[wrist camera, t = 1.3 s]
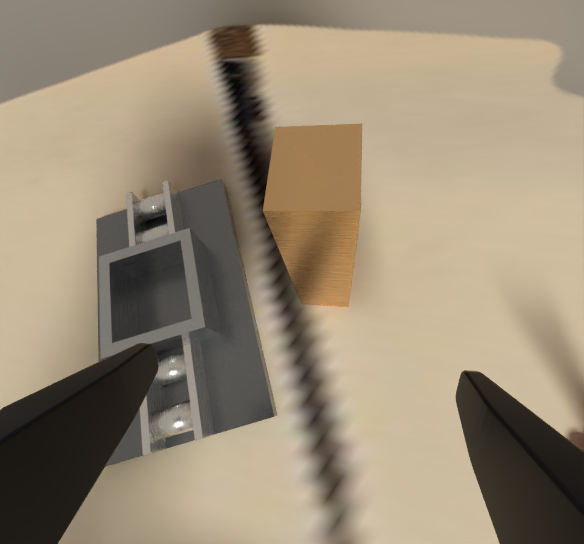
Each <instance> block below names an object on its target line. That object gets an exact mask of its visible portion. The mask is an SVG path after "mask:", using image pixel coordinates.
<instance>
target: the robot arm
mask: <svg viewBox="0 0 584 544" xmlns="http://www.w3.org/2000/svg"><path fill="white" fill-rule="evenodd" d="M158 368H159V365H158V360H157V357H156V353H155V349H154V347H153V345H151V344H146V343H138V344H136V345H134V346H132V347H130V348H127V349H125V350H123V351H121V352H119V353H117V354H115V355H113V356H111V357H109V358H106V359H104V360H102V361H100V362H98V363H96V364H94V365H92V366H90V367H87V368H85V369H83V370H81V371H79V372H77V373H75V374H73V375H71V376H69V377H66V378H64V379H62V380H60V381H58V382H56V383H54V384H52V385H50V386H48V387H45V388H43V389H41V390H39V391H37V392H35V393H33V394H31V395H29V396H26V397H24V398H22V399H20V400H18V401H16V402H14V403H12V404H10V405H8V406H5V407H3V408H2V409H1V410H0V544H58V542H59V541H60V539H61V537H62V536H63V534H64V533H65V531H66V529H67V528H68V526H69V524H70V523H71V521H72V520H73V518H74V516H75V515H76V513H77V511H78V510H79V508H80V507H81V505H82V503H83V502H84V500H85V498H86V497H87V495H88V494H89V492H90V490H91V489H92V487H93V485H94V484H95V482H96V480H97V479H98V477H99V476H100V474H101V472H102V471H103V469H104V467H105V466H106V464H107V463H108V461H109V459H110V458H111V456H112V454H113V453H114V451H115V450H116V448H117V446H118V445H119V443H120V441H121V440H122V438H123V437H124V435H125V433H126V432H127V430H128V428H129V427H130V425H131V423H132V422H133V420H134V418H135V416H136V415H137V413H138V411H139V409H140V407H141V405H142V403H143V401H144V399H145V397H146V395H147V393H148V391H149V389H150V387H151V384H152V382H153V380H154V378H155V376H156V374H157V372H158ZM456 403H457V408H458V412H459V416H460V420H461V424H462V428H463V433H464V437H465V441H466V445H467V449H468V453H469V457H470V461H471V464H472V467H473V470H474V473H475V475H476V478H477V481H478V484H479V487H480V489H481V492H482V495H483V498H484V501H485V503H486V506H487V509H488V512H489V515H490V517H491V520H492V523H493V526H494V529H495V531H496V534H497V537H498V540H499V543H500V544H584V452H583V451H582V450H581V449H579V448H578V447H577V446H576V445H574V444H573V443H572V442H570V441H569V440H568V439H567V438H565V437H564V436H563V435H561V434H560V433H559V432H557V431H556V430H555V429H554V428H552V427H551V426H550V425H548V424H547V423H546V422H545V421H543V420H542V419H541V418H539V417H538V416H537V415H535V414H534V413H533V412H532V411H530V410H529V409H528V408H526V407H525V406H524V405H523V404H521V403H520V402H519V401H517V400H516V399H515V398H513V397H512V396H511V395H510V394H508V393H507V392H506V391H504V390H503V389H502V388H501V387H499V386H498V385H497V384H495V383H494V382H493V381H491V380H490V379H489V378H488V377H486V376H485V375H484V374H482V373H481V372H478V371H467V370H465V371H463V372H462V373H461V375H460V379H459V383H458V387H457V391H456Z"/></svg>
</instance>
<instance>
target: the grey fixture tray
mask: <svg viewBox="0 0 584 544" xmlns="http://www.w3.org/2000/svg"><path fill="white" fill-rule="evenodd" d="M163 190H164V192H163V193H160V194H157V195H154V196H151V197H147V198H144V199H141V200H139V199H138V198H137V197H136V196H135V195H134V194H133V193H132V192H130V193H127V194H126V202H127V210H124V211H120V212H117V213H114V214H111V215H108V216H105V217H102V218H99V219H97V281H98V345H99V362H100V361H102V360H104V359H106V358H109V357H111V356H113V355H115V354H117V353H119V352H121V351H123V350H125V349H127V348H130V347H132V346H134V345H136V344H138V343H146V344H151V345H153V347H154V349H155V353H156V357H157V360H158V365H159V368H158V372H157V374H156V376H155V378H154V380H153V382H152V384H151V387H150V389H149V391H148V393H147V395H146V397H145V399H144V401H143V403H142V405H141V407H140V409H139V411H138V413H137V415H136V416H135V418H134V420H133V422H132V423H131V425H130V427H129V428H128V430H127V432H126V433H125V435H124V437H123V438H122V440H121V441H120V443H119V445H118V446H117V448H116V450H115V451H114V453H113V454H112V456H111V458H110V459H109V461H108V463H107V464H106V466H108V465H112V464H115V463H118V462H122V461H125V460H129V459H132V458H135V457H139V456H142V455H143V456H144V455H148V454H151V453H154V452H157V451H160V450H163V449H166V448H169V447H173V446H176V445H179V444H183V443H186V442H190V441H193V440H199V439H202V438H205V437H208V436H211V435H213V434H217V433H220V432H223V431H227V430H230V429H234V428H237V427H240V426H244V425H247V424H251V423H254V422H257V421H261V420H264V419H268V418H271V417H274V416H277V412H276V408H275V403H274V399H273V395H272V390H271V386H270V381H269V377H268V373H267V368H266V364H265V359H264V355H263V351H262V346H261V342H260V337H259V333H258V329H257V324H256V320H255V316H254V311H253V307H252V302H251V298H250V294H249V289H248V285H247V280H246V276H245V272H244V267H243V263H242V258H241V254H240V250H239V245H238V241H237V236H236V232H235V228H234V223H233V219H232V214H231V210H230V206H229V201H228V197H227V192H226V188H225V185H224V183H223V181H222V180H221V179H220V180H217V181H214V182H211V183H208V184H205V185H202V186H198V187H195V188H192V189H189V190H186V191H183V192H180V193H178V192H177V191H176V190H175V188H174V187H173V186H172V185H171V183H170V182H169V181H168V180H167V181H164V182H163Z"/></svg>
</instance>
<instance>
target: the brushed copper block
mask: <svg viewBox="0 0 584 544" xmlns="http://www.w3.org/2000/svg"><path fill="white" fill-rule="evenodd" d="M361 161H362V124H343V125H319V126H294V127H275V133H274V139H273V146H272V153H271V160H270V166H269V173H268V180H267V186H266V193H265V200H264V207H263V212H264V215H265V217H266V219H267V222H268V224H269V227H270V229H271V231H272V234H273V236H274V239H275V241H276V243H277V246H278V248H279V251H280V253H281V255H282V258H283V260H284V263H285V265H286V267H287V270H288V272H289V275H290V277H291V279H292V282H293V284H294V287H295V289H296V291H297V294H298V296H299V299H300V301H301V303H302V304H311V305H329V306H346V307H348V306H349V298H350V290H351V282H352V274H353V267H354V259H355V251H356V243H357V235H358V228H359V220H360V212H361Z"/></svg>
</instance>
